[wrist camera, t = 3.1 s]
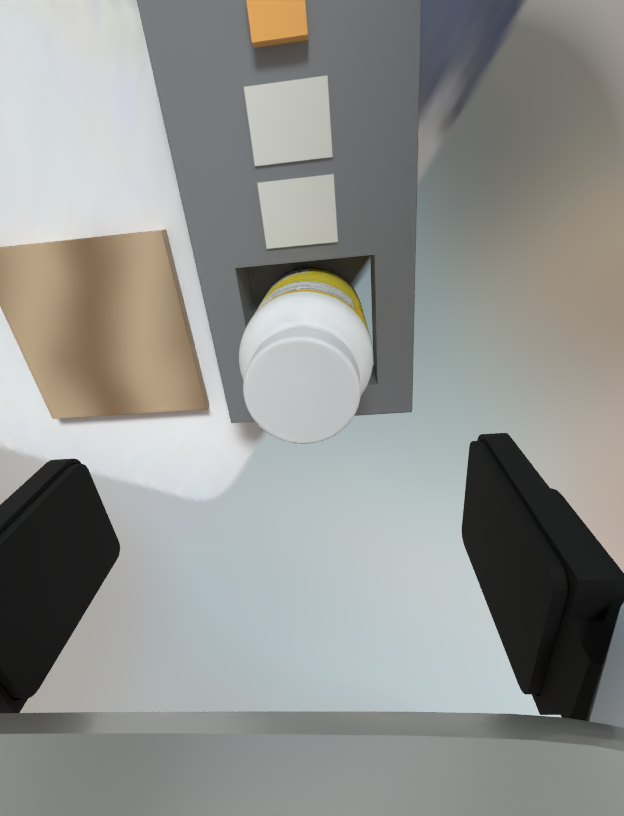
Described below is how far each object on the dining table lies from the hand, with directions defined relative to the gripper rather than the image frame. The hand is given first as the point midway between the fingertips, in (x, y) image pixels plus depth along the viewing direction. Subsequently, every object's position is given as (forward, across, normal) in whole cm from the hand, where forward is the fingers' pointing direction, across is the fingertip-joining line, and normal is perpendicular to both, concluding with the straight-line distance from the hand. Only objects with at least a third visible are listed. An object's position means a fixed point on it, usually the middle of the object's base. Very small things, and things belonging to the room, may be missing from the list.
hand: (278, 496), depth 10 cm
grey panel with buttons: (+14, 0, -5) cm, 15 cm away
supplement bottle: (+14, 0, -1) cm, 14 cm away
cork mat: (+14, +12, -1) cm, 18 cm away
